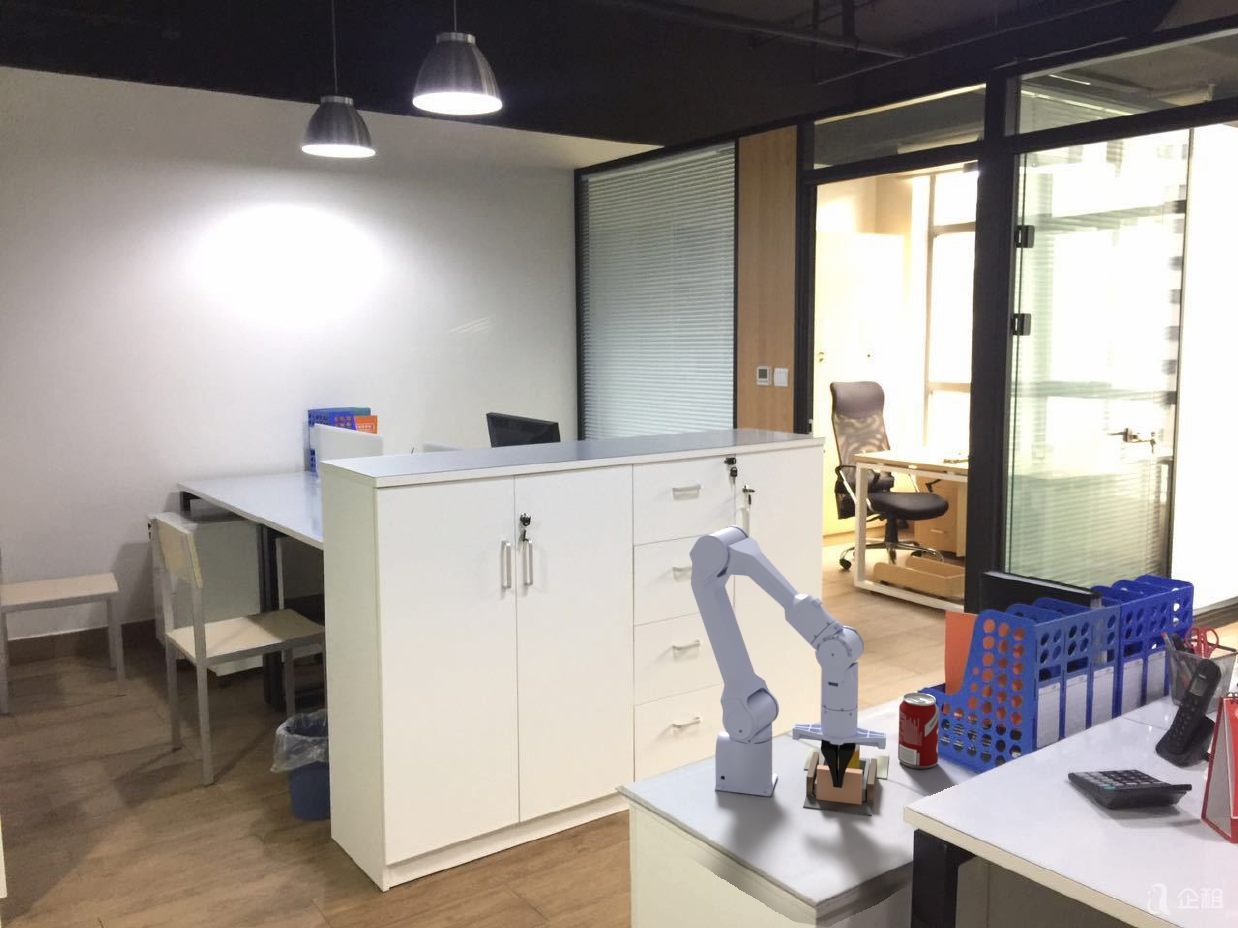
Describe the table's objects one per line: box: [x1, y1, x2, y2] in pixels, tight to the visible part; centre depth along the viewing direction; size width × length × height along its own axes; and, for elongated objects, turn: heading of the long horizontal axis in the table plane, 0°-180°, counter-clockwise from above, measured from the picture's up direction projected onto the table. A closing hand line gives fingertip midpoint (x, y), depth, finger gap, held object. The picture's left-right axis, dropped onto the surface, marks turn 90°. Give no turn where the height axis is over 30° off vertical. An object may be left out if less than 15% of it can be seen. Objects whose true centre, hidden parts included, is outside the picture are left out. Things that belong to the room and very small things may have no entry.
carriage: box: [813, 754, 871, 805], centre depth 172 cm, size 8×14×5 cm, turn 163°
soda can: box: [897, 692, 940, 770], centre depth 180 cm, size 7×7×12 cm
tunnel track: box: [802, 747, 890, 817], centre depth 174 cm, size 14×23×4 cm, turn 163°
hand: (838, 784), depth 164 cm, fingers closed, pressing on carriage
